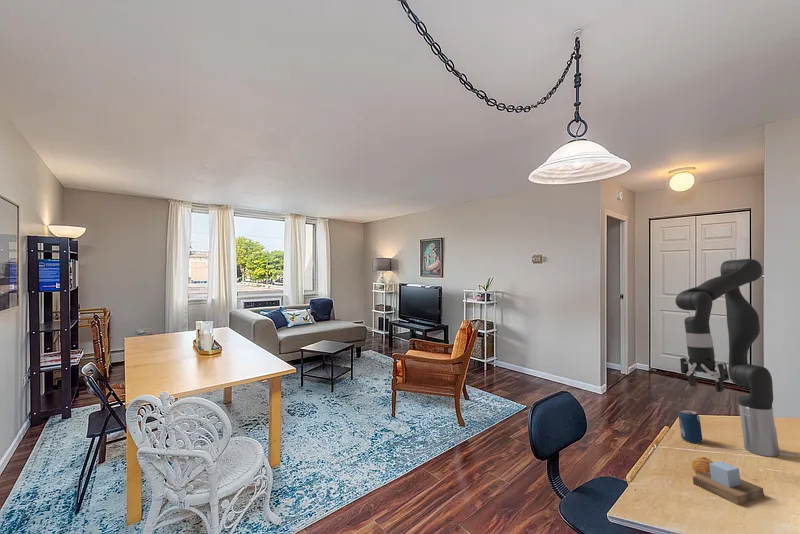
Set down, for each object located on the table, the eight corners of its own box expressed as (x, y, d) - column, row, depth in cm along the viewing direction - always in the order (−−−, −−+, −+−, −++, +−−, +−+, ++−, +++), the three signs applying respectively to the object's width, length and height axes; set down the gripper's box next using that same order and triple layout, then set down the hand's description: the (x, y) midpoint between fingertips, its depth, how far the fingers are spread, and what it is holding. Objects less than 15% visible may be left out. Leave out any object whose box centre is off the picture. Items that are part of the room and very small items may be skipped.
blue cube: (722, 476, 111) (720, 460, 112) (740, 484, 106) (738, 468, 107) (711, 479, 110) (709, 463, 110) (729, 487, 105) (727, 471, 106)
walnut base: (718, 478, 115) (717, 469, 116) (764, 498, 104) (763, 488, 104) (693, 485, 112) (692, 476, 112) (738, 507, 100) (736, 496, 101)
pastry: (717, 481, 113) (715, 469, 114) (690, 474, 118) (689, 463, 118) (717, 469, 120) (715, 458, 120) (692, 464, 125) (691, 453, 125)
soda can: (706, 441, 140) (702, 412, 141) (696, 445, 138) (693, 415, 139) (687, 435, 147) (683, 407, 148) (677, 439, 144) (674, 410, 145)
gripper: (729, 346, 120) (736, 392, 119) (686, 341, 134) (691, 382, 133) (715, 348, 118) (722, 395, 117) (672, 343, 132) (678, 385, 131)
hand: (705, 388), depth 125 cm, fingers open, 8 cm apart
